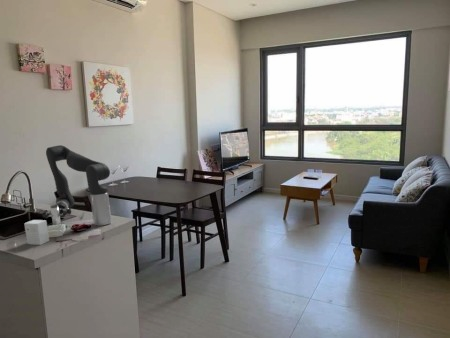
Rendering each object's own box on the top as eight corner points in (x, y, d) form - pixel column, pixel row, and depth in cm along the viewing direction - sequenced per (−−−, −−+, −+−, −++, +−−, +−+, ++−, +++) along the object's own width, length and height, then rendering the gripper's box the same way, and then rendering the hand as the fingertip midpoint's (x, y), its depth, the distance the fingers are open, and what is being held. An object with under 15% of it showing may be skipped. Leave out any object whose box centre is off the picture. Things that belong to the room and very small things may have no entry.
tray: (65, 229, 183) (64, 223, 182) (62, 235, 172) (61, 230, 172) (43, 232, 180) (42, 226, 179) (37, 239, 169) (37, 233, 169)
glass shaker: (61, 224, 191) (59, 204, 189) (60, 227, 187) (57, 205, 185) (53, 225, 190) (51, 204, 188) (52, 228, 186) (49, 206, 184)
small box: (49, 241, 166) (46, 220, 164) (40, 245, 161) (37, 223, 159) (36, 240, 168) (33, 219, 167) (27, 244, 163) (23, 223, 161)
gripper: (46, 203, 199) (39, 210, 183) (72, 200, 202) (68, 207, 187) (47, 216, 200) (41, 224, 184) (74, 213, 204) (69, 220, 188)
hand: (54, 215), depth 186 cm, fingers open, 8 cm apart
